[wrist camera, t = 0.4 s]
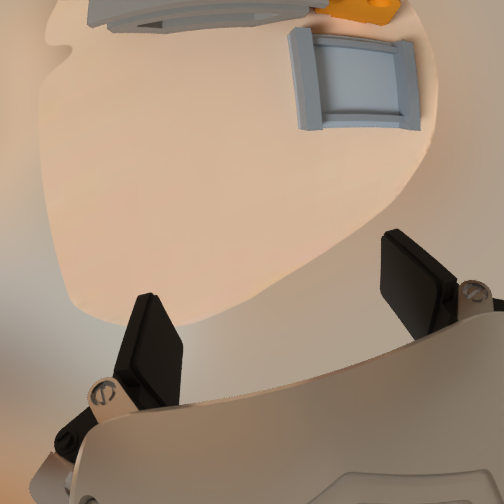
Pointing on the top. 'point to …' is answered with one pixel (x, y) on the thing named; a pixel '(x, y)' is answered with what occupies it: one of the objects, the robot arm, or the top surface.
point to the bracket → (362, 10)
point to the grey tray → (353, 82)
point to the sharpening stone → (193, 14)
